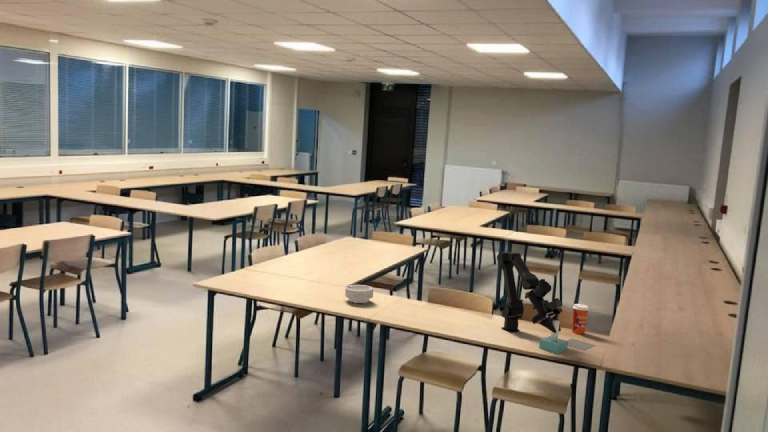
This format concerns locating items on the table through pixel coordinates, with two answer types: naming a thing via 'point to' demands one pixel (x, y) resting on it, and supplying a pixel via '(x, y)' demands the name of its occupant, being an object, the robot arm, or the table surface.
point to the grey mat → (579, 344)
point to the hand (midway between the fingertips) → (557, 331)
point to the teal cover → (554, 341)
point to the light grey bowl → (359, 293)
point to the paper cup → (579, 318)
